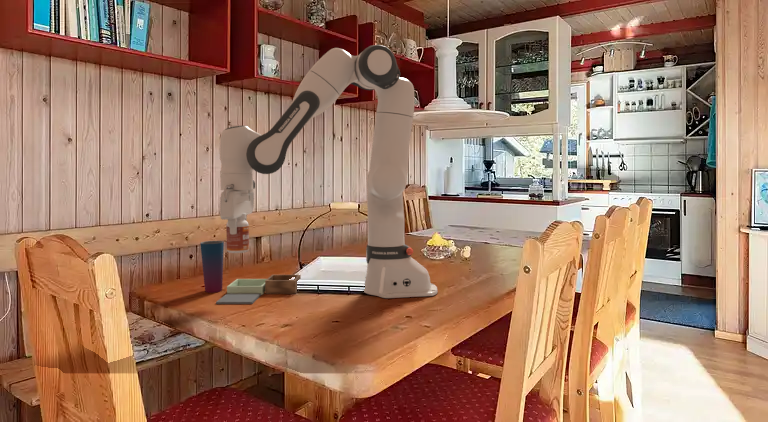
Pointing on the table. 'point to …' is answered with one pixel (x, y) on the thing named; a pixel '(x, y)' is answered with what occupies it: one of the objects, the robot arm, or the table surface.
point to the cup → (212, 265)
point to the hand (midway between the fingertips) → (238, 232)
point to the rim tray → (247, 286)
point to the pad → (239, 298)
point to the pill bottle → (238, 236)
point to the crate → (281, 284)
